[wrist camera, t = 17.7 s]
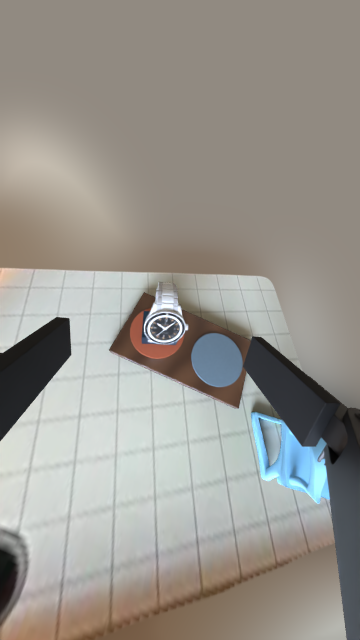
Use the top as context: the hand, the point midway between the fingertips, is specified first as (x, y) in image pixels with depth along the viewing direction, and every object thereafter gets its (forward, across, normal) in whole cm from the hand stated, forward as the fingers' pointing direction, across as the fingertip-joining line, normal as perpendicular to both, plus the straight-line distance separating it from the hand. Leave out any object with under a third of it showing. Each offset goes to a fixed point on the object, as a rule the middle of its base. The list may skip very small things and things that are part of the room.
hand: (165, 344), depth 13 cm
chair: (+6, +19, -19) cm, 28 cm away
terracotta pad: (+16, 0, -6) cm, 18 cm away
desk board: (+16, +5, -9) cm, 19 cm away
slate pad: (+14, +10, -9) cm, 20 cm away
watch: (+16, 0, -7) cm, 18 cm away
